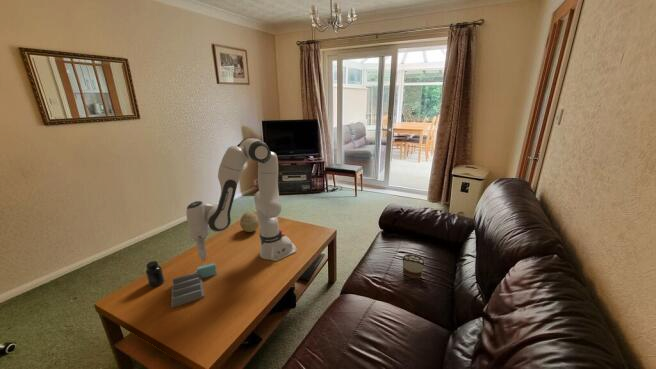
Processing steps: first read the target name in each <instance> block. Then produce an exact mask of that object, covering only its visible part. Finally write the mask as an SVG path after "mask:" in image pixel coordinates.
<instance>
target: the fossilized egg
mask: <svg viewBox="0 0 656 369" xmlns="http://www.w3.org/2000/svg"><path fill="white" fill-rule="evenodd" d="M239 221H240V222H239V224H240V227H241V229H242V230H243V231H244V232H247V233H253V232H254V231H256V230H257V229H258V227H259V219H258V215H257V213H254V212H253V211H246V212H244V213H243V214H242V215H241V217H240V220H239Z"/></svg>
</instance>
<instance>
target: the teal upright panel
mask: <svg viewBox="0 0 656 369" xmlns="http://www.w3.org/2000/svg"><path fill="white" fill-rule="evenodd" d="M196 271H197V272H198V273H199V277H202V279H204V278H207V277H211V276H215V275H217V268H216V263H215V262H212V263H209V264H204V265H201V266H197V267H196Z"/></svg>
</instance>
